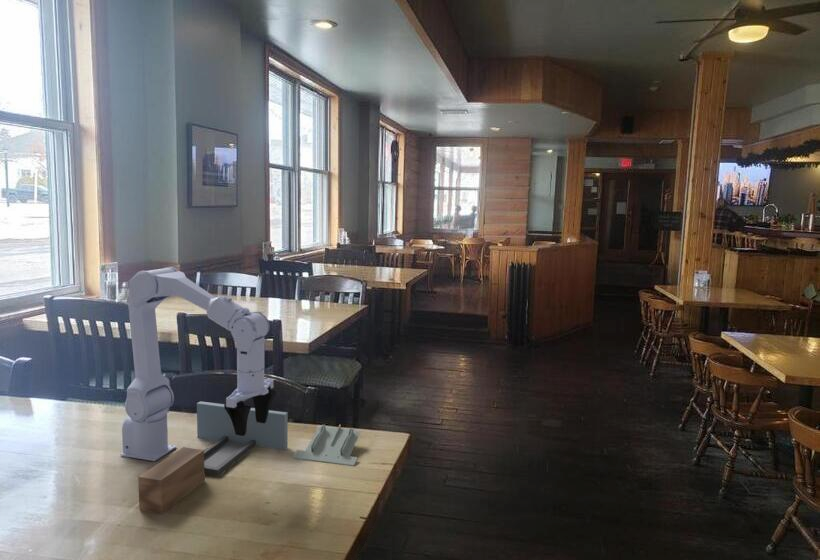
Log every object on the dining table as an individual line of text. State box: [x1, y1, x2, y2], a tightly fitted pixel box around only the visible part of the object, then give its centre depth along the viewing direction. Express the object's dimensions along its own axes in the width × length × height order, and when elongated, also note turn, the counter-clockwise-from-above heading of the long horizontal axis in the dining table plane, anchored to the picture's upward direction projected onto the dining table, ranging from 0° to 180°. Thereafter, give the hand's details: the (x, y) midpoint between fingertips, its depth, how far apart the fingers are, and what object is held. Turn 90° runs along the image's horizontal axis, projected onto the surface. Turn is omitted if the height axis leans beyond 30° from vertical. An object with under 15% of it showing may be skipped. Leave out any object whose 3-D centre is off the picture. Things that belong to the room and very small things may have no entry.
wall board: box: [196, 401, 289, 477], centre depth 134 cm, size 24×18×9 cm
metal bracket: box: [292, 424, 361, 467], centre depth 139 cm, size 14×6×15 cm
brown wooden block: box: [137, 446, 206, 515], centre depth 117 cm, size 5×14×7 cm, turn 166°
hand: (251, 428), depth 127 cm, fingers open, 7 cm apart
